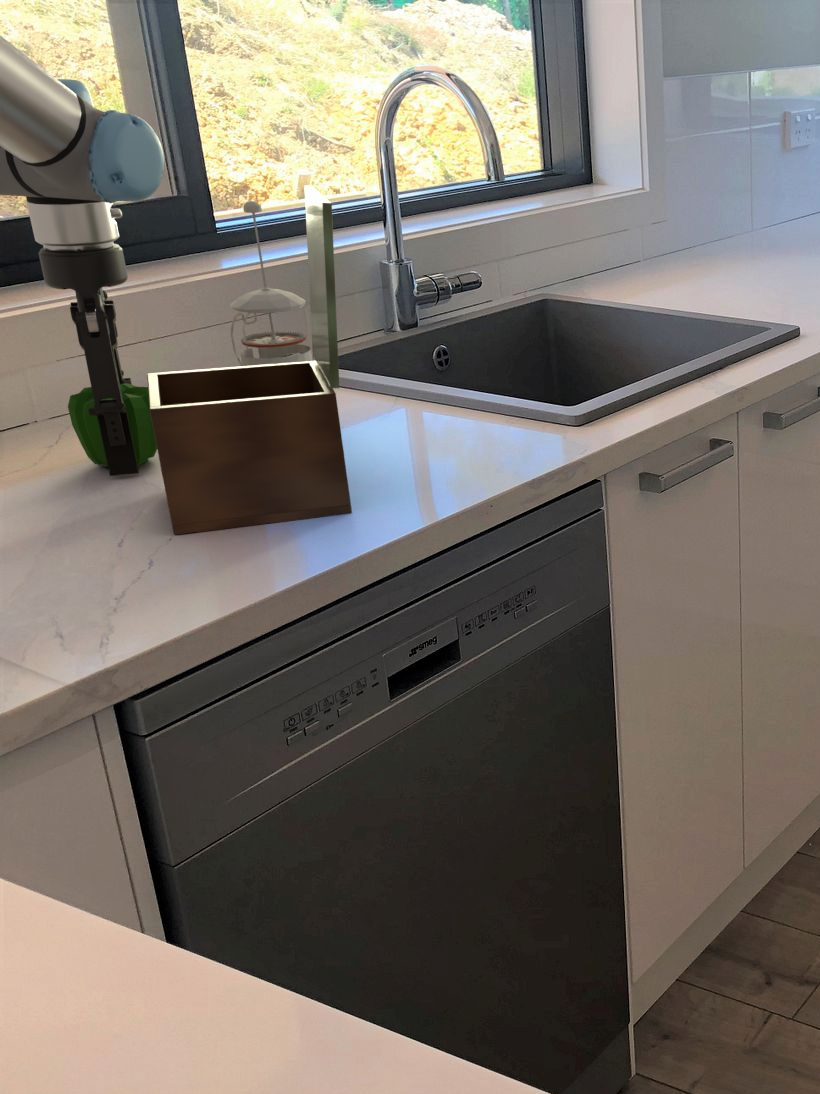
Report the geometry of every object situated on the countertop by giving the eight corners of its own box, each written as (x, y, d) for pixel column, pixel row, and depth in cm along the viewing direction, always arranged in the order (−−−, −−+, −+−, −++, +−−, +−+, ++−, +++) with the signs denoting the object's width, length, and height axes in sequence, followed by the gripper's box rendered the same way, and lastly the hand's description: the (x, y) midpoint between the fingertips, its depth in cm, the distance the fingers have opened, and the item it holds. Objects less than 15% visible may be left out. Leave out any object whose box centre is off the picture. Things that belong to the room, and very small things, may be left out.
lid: (322, 202, 124) (331, 203, 124) (304, 185, 136) (313, 185, 136) (330, 388, 130) (339, 388, 130) (312, 355, 142) (321, 356, 142)
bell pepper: (103, 452, 152) (83, 361, 148) (179, 452, 153) (161, 361, 149) (65, 474, 145) (43, 380, 141) (145, 475, 145) (126, 380, 141)
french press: (279, 434, 160) (241, 208, 149) (215, 420, 165) (174, 201, 155) (348, 416, 167) (316, 199, 157) (284, 402, 173) (250, 192, 163)
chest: (173, 535, 129) (149, 409, 124) (169, 489, 141) (147, 373, 136) (352, 513, 135) (335, 393, 130) (333, 472, 147) (317, 360, 142)
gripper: (121, 258, 132) (165, 485, 141) (121, 228, 150) (160, 432, 159) (31, 262, 129) (82, 494, 138) (42, 232, 147) (87, 439, 156)
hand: (124, 461), depth 149 cm, fingers open, 9 cm apart
